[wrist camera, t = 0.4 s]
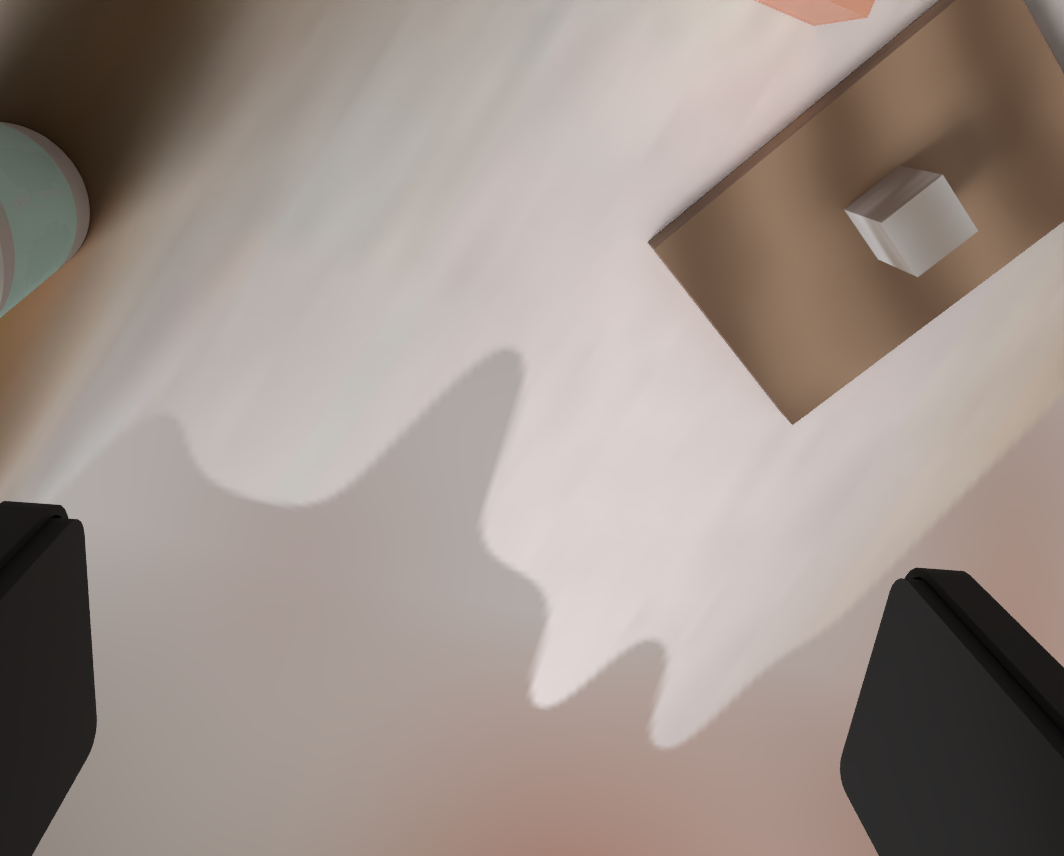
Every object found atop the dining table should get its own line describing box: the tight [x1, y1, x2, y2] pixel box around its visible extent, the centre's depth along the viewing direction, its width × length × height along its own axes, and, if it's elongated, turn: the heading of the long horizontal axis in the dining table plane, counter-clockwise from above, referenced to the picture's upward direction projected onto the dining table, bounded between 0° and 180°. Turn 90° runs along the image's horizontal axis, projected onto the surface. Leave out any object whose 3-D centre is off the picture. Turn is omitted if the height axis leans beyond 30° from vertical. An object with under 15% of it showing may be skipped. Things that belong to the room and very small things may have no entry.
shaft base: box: [648, 0, 1064, 425], centre depth 35 cm, size 16×10×5 cm, turn 130°
